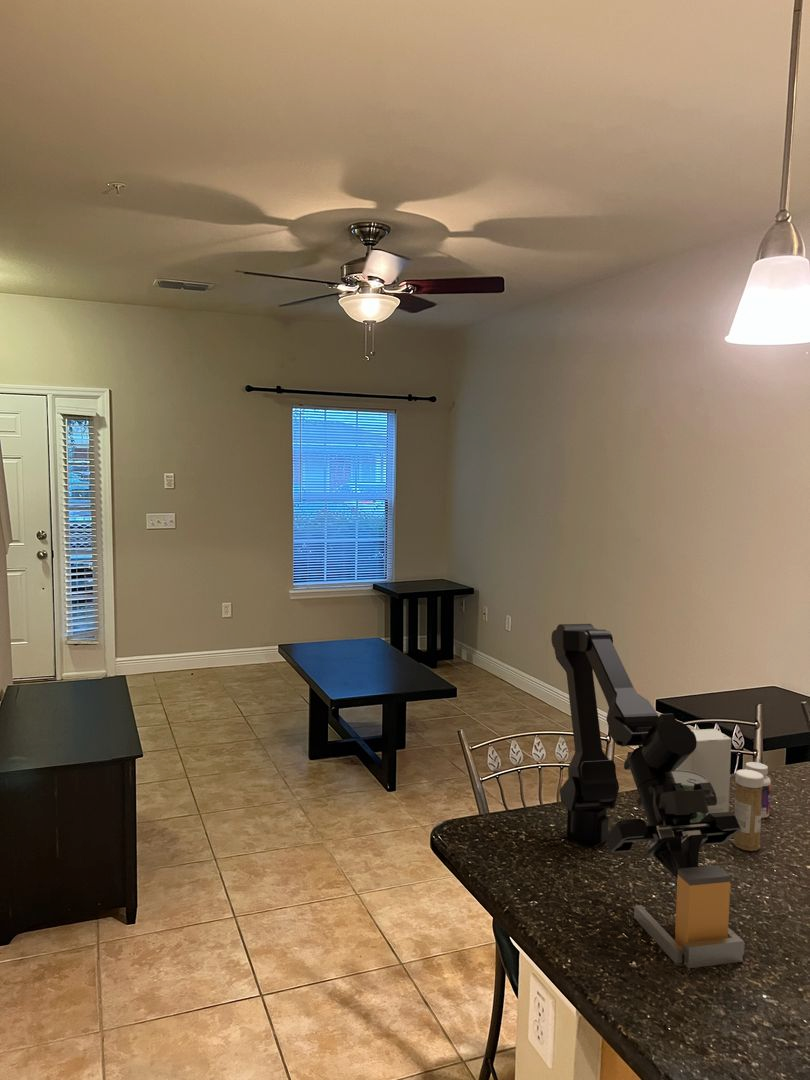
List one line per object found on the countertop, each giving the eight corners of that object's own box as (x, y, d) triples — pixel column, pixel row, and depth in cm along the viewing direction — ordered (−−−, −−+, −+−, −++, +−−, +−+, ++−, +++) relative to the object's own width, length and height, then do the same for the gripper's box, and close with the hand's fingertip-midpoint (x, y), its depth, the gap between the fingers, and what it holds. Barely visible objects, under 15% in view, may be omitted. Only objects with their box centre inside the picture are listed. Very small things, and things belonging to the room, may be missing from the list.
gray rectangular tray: (620, 909, 115) (621, 884, 115) (681, 902, 118) (682, 879, 117) (680, 976, 100) (681, 948, 99) (749, 967, 102) (750, 940, 101)
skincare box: (713, 802, 156) (716, 727, 155) (730, 816, 150) (734, 738, 149) (674, 803, 155) (677, 728, 154) (690, 817, 149) (693, 739, 148)
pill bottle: (774, 819, 149) (776, 770, 148) (746, 818, 149) (749, 769, 148) (761, 807, 154) (764, 760, 153) (734, 807, 154) (737, 760, 153)
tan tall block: (674, 944, 105) (677, 868, 104) (713, 940, 106) (717, 865, 105) (686, 958, 102) (690, 879, 101) (727, 953, 103) (730, 875, 102)
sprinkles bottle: (765, 851, 135) (769, 777, 134) (741, 852, 134) (745, 778, 134) (750, 839, 140) (754, 767, 139) (727, 840, 139) (730, 768, 138)
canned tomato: (651, 833, 142) (653, 775, 141) (675, 822, 146) (678, 766, 146) (689, 849, 135) (692, 788, 135) (714, 837, 140) (716, 779, 139)
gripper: (618, 765, 107) (656, 880, 97) (736, 758, 111) (784, 868, 101) (591, 797, 116) (624, 907, 106) (702, 790, 119) (744, 895, 109)
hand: (695, 894), depth 105 cm, fingers closed
